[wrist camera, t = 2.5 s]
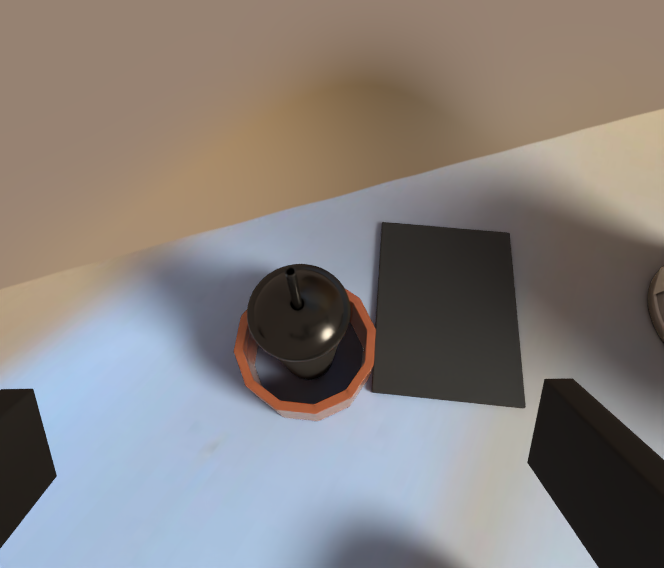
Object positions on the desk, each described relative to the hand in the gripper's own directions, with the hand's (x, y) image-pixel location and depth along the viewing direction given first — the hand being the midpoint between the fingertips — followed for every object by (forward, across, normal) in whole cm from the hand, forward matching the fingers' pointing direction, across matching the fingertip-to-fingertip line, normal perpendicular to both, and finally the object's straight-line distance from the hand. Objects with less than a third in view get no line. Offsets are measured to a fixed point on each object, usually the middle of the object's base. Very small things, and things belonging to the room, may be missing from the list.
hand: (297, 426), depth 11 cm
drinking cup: (+29, 0, -14) cm, 32 cm away
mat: (+31, +15, -10) cm, 36 cm away
